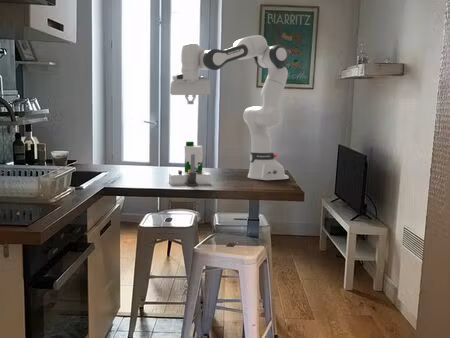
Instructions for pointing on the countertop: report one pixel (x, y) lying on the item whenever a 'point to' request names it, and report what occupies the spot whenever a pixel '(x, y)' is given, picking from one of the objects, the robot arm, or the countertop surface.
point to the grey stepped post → (192, 173)
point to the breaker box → (183, 178)
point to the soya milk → (198, 152)
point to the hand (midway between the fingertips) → (190, 104)
